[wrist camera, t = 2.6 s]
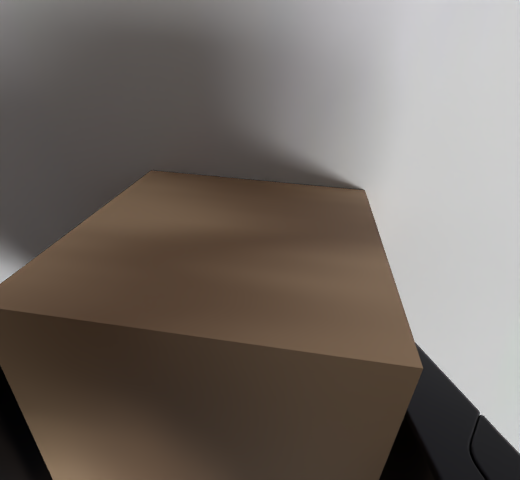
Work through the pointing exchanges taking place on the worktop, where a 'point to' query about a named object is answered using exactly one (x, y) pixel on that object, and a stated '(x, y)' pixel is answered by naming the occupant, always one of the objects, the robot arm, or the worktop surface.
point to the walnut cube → (212, 336)
